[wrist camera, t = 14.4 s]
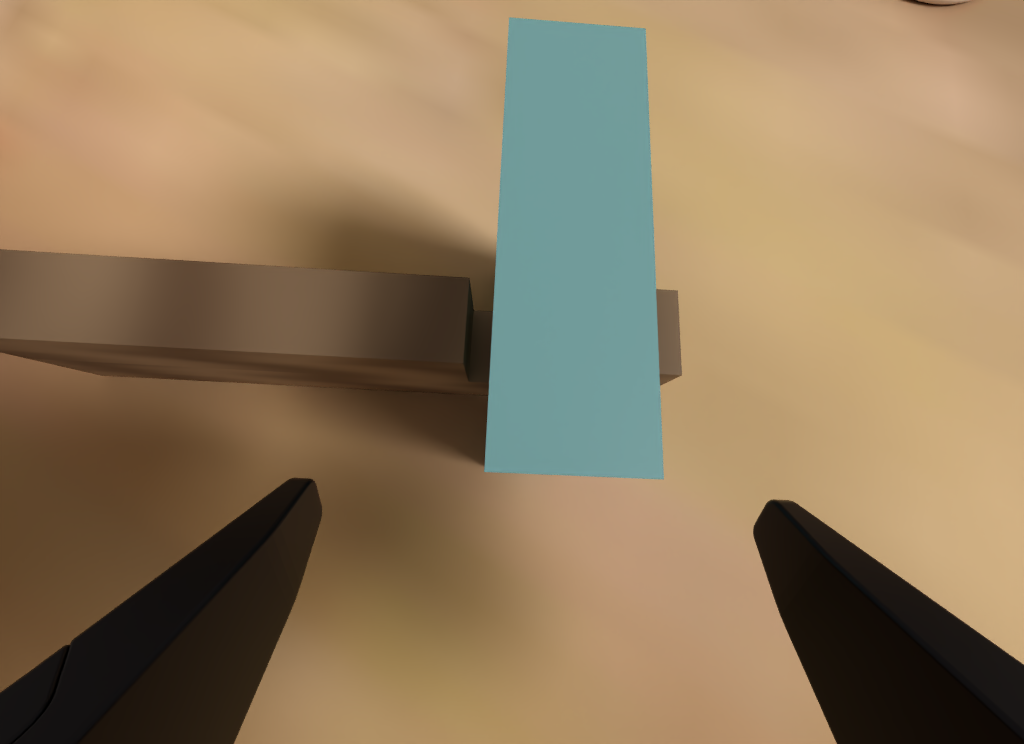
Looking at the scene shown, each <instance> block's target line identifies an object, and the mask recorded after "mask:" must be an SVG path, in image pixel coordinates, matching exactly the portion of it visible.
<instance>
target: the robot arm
mask: <svg viewBox="0 0 1024 744" xmlns="http://www.w3.org/2000/svg"><path fill="white" fill-rule="evenodd" d="M321 516H322V505H321V502H320V498H319V494H318V490H317V486H316V483H315V481H314V480H313V479H307V478H292V479H289V480H288V481H286V482H285V483H283V484H282V485H281V486H279V487H278V488H277V489H275V490H274V491H273V492H271V493H270V494H268V495H267V496H266V497H264V498H263V499H262V500H260V501H259V502H258V503H256V504H255V505H254V506H252V507H251V508H250V509H248V510H247V511H246V512H244V513H243V514H242V515H240V516H239V517H237V518H236V519H235V520H233V521H232V522H231V523H229V524H228V525H227V526H225V527H224V528H223V529H221V530H220V531H219V532H217V533H216V534H215V535H213V536H212V537H211V538H209V539H208V540H206V541H205V542H204V543H202V544H201V545H200V546H198V547H197V548H196V549H194V550H193V551H192V552H190V553H189V554H188V555H186V556H185V557H184V558H182V559H181V560H180V561H178V562H177V563H175V564H174V565H173V566H171V567H170V568H169V569H167V570H166V571H165V572H163V573H162V574H161V575H159V576H158V577H157V578H155V579H154V580H153V581H151V582H150V583H149V584H147V585H146V586H144V587H143V588H142V589H140V590H139V591H138V592H136V593H135V594H134V595H132V596H131V597H130V598H128V599H127V600H126V601H124V602H123V603H122V604H120V605H119V606H118V607H116V608H115V609H114V610H112V611H111V612H109V613H108V614H107V615H105V616H104V617H103V618H101V619H100V620H99V621H97V622H96V623H95V624H93V625H92V626H91V627H89V628H88V629H87V630H85V631H84V632H83V633H81V634H80V635H78V636H77V637H76V638H74V639H73V640H72V642H71V644H70V645H65V646H63V647H62V648H61V649H59V650H58V651H57V652H55V653H54V654H53V655H51V656H50V657H49V658H47V659H46V660H44V661H43V662H42V663H40V664H39V665H38V666H36V667H35V668H34V669H32V670H31V671H30V672H28V673H27V674H25V675H24V676H23V677H21V678H20V679H19V680H17V681H16V682H14V683H13V684H12V685H10V686H9V687H7V688H6V689H5V690H3V691H2V692H0V744H234V742H235V740H236V737H237V735H238V733H239V730H240V728H241V726H242V723H243V721H244V719H245V716H246V714H247V712H248V709H249V707H250V705H251V702H252V700H253V698H254V695H255V693H256V691H257V688H258V686H259V684H260V681H261V679H262V677H263V674H264V672H265V670H266V667H267V665H268V663H269V660H270V658H271V656H272V654H273V651H274V649H275V647H276V644H277V642H278V640H279V637H280V635H281V633H282V630H283V628H284V626H285V623H286V621H287V619H288V616H289V614H290V612H291V609H292V607H293V604H294V602H295V599H296V596H297V594H298V591H299V588H300V585H301V581H302V578H303V575H304V572H305V569H306V565H307V562H308V559H309V556H310V553H311V549H312V546H313V543H314V540H315V537H316V533H317V530H318V527H319V524H320V521H321ZM753 534H754V539H755V542H756V545H757V548H758V551H759V554H760V557H761V560H762V563H763V566H764V569H765V572H766V575H767V578H768V581H769V584H770V587H771V590H772V593H773V596H774V599H775V602H776V605H777V607H778V610H779V613H780V615H781V618H782V620H783V623H784V625H785V627H786V630H787V632H788V634H789V637H790V639H791V641H792V643H793V646H794V648H795V650H796V652H797V655H798V657H799V659H800V661H801V664H802V666H803V668H804V670H805V673H806V675H807V677H808V679H809V682H810V684H811V686H812V688H813V691H814V693H815V695H816V698H817V700H818V702H819V704H820V707H821V709H822V711H823V713H824V716H825V718H826V720H827V722H828V725H829V727H830V729H831V731H832V734H833V736H834V738H835V740H836V743H837V744H1024V665H1023V664H1022V663H1021V662H1019V661H1018V660H1016V659H1015V658H1014V657H1012V656H1011V655H1009V654H1008V653H1007V652H1005V651H1004V650H1002V649H1001V648H1000V647H998V646H997V645H995V644H994V643H992V642H991V641H990V640H988V639H987V638H985V637H984V636H983V635H981V634H980V633H978V632H977V631H976V630H974V629H973V628H971V627H970V626H969V625H967V624H966V623H964V622H963V621H961V620H960V619H959V618H957V617H956V616H954V615H953V614H952V613H950V612H949V611H947V610H946V609H945V608H943V607H942V606H940V605H939V604H938V603H936V602H935V601H933V600H932V599H930V598H929V597H928V596H926V595H925V594H923V593H922V592H921V591H919V590H918V589H916V588H915V587H914V586H912V585H911V584H909V583H908V582H907V581H905V580H904V579H902V578H901V577H899V576H898V575H897V574H895V573H894V572H892V571H891V570H890V569H888V568H887V567H885V566H884V565H883V564H881V563H880V562H878V561H877V560H876V559H874V558H873V557H871V556H870V555H868V554H867V553H866V552H864V551H863V550H861V549H860V548H859V547H857V546H856V545H854V544H853V543H852V542H850V541H849V540H847V539H846V538H845V537H843V536H842V535H840V534H839V533H837V532H836V531H835V530H833V529H832V528H830V527H829V526H828V525H826V524H825V523H823V522H822V521H821V520H819V519H818V518H816V517H815V516H814V515H812V514H811V513H809V512H808V511H806V510H805V509H804V508H802V507H801V506H799V505H798V504H796V503H795V502H793V501H789V500H770V501H768V502H767V503H766V505H765V507H764V509H763V510H762V512H761V514H760V516H759V517H758V519H757V521H756V523H755V525H754V529H753Z"/></svg>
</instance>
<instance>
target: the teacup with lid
mask: <svg viewBox="0 0 1024 744" xmlns="http://www.w3.org/2000/svg"><path fill="white" fill-rule="evenodd" d="M917 1H920V2H925V3H931V4H958V3H963V2H967V1H970V0H917Z"/></svg>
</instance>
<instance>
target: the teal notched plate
mask: <svg viewBox="0 0 1024 744" xmlns="http://www.w3.org/2000/svg"><path fill="white" fill-rule="evenodd" d="M484 472H499V473H523V474H547V475H571V476H595V477H619V478H643V479H664V473H663V449H662V424H661V399H660V375H659V350H658V325H657V300H656V276H655V251H654V226H653V201H652V177H651V152H650V127H649V102H648V78H647V53H646V29H645V28H632V27H620V26H608V25H595V24H583V23H571V22H558V21H546V20H534V19H521V18H509V32H508V50H507V68H506V86H505V104H504V123H503V141H502V159H501V177H500V195H499V214H498V232H497V250H496V268H495V286H494V305H493V323H492V341H491V359H490V377H489V396H488V414H487V432H486V450H485V468H484Z"/></svg>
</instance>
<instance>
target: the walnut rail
mask: <svg viewBox="0 0 1024 744" xmlns="http://www.w3.org/2000/svg"><path fill="white" fill-rule="evenodd" d="M656 300H657V325H658V350H659V375H660V385H662V384H664V383H667V382H669V381H671V380H673V379H675V378H677V377H679V376H681V375H682V368H681V348H680V327H679V307H678V291H676V290H660V289H656ZM492 323H493V312H492V311H474V310H473V302H472V294H471V287H470V279H469V278H462V277H446V276H429V275H413V274H396V273H380V272H364V271H347V270H331V269H314V268H298V267H281V266H265V265H248V264H232V263H216V262H199V261H183V260H166V259H150V258H133V257H117V256H100V255H84V254H68V253H51V252H35V251H18V250H2V249H0V352H2V353H6V354H10V355H15V356H19V357H23V358H28V359H32V360H36V361H41V362H45V363H49V364H54V365H58V366H62V367H67V368H71V369H75V370H80V371H84V372H88V373H93V374H97V375H102V376H121V377H141V378H160V379H179V380H199V381H218V382H237V383H257V384H276V385H295V386H315V387H334V388H354V389H373V390H392V391H412V392H431V393H450V394H470V395H489V377H490V359H491V341H492Z"/></svg>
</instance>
